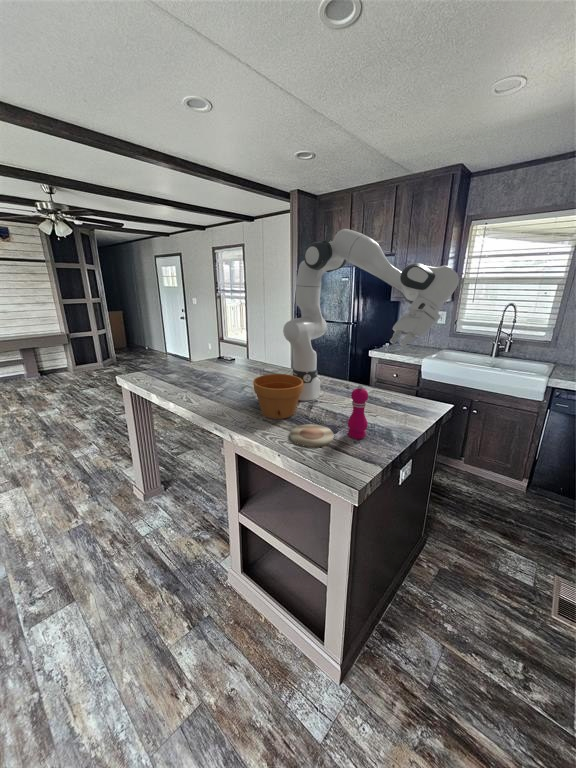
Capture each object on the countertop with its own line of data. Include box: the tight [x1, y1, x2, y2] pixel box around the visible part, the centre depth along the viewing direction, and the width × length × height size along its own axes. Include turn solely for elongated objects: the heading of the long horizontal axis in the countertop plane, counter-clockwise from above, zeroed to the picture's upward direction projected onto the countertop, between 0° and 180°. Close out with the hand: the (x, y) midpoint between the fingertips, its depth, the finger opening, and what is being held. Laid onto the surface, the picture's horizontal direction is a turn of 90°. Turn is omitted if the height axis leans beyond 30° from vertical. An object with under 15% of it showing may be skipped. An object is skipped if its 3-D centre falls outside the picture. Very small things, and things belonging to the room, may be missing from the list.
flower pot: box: [252, 373, 303, 420], centre depth 138 cm, size 21×21×15 cm
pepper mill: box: [347, 384, 369, 440], centre depth 117 cm, size 7×7×20 cm
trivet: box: [289, 423, 335, 448], centre depth 119 cm, size 16×16×1 cm
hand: (396, 343), depth 113 cm, fingers open, 8 cm apart
